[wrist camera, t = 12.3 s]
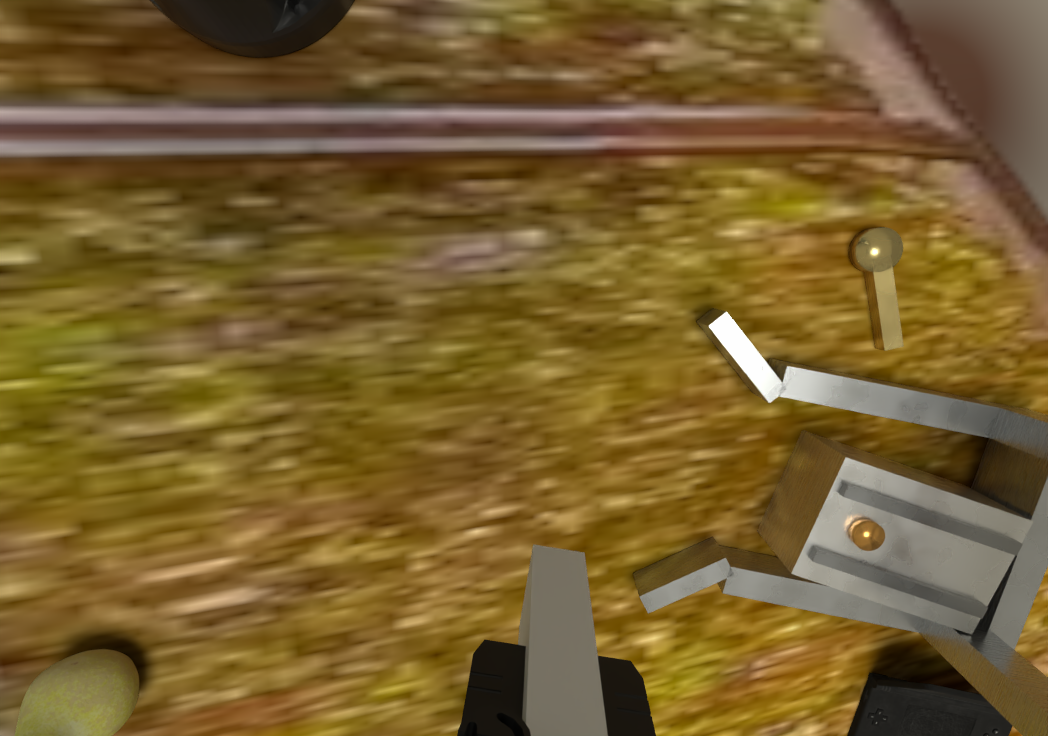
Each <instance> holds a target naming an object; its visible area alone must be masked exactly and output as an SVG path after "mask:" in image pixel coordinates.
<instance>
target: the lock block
mask: <svg viewBox="0 0 1048 736" xmlns="http://www.w3.org/2000/svg"><path fill="white" fill-rule="evenodd" d="M1033 522H1034V521H1032V520H1030V519H1028V518H1026V517H1024V516H1022V515H1021V514H1019V513H1017V512H1015V511H1013V510H1011V509H1009V508H1007V507H1005V506H1003V505H1001V504H999V503H998V502H996V501H994V500H992V499H990V498H988V497H986V496H984V495H982V494H980V493H978V492H977V491H975V490H973V489H971V488H969V487H967V486H965V485H963V484H960V483H957V482H954V481H951V480H948V479H945V478H942V477H939V476H936V475H934V474H931V473H928V472H925V471H922V470H919V469H916V468H913V467H910V466H907V465H904V464H901V463H898V462H895V461H893V460H890V459H887V458H884V457H881V456H878V455H875V454H872V453H869V452H866V451H863V450H860V449H857V448H855V447H852V446H849V445H846V444H843V443H840V442H837V441H834V440H831V439H828V438H825V437H822V436H819V435H816V434H814V433H811V432H808V431H805V430H802V432H801V434H800V437H799V439H798V441H797V443H796V446H795V448H794V450H793V452H792V454H791V457H790V459H789V461H788V463H787V466H786V468H785V470H784V472H783V474H782V477H781V479H780V481H779V483H778V486H777V488H776V490H775V492H774V494H773V497H772V499H771V501H770V503H769V506H768V508H767V510H766V512H765V514H764V517H763V519H762V521H761V523H760V526H759V528H758V530H757V531H758V533H759V534H760V535H761V536H762V538H763V539H764V540H765V541H766V543H767V544H768V545H769V546H770V548H771V549H772V550H773V551H774V553H775V554H776V555H777V556H778V558H779V559H780V560H781V561H782V563H783V564H784V565H785V567H786V568H787V569H788V570H789V572H790V573H791V574H793V575H796V576H799V577H802V578H805V579H808V580H811V581H814V582H817V583H820V584H823V585H826V586H829V587H832V588H835V589H838V590H841V591H844V592H847V593H850V594H853V595H856V596H859V597H862V598H865V599H868V600H871V601H874V602H877V603H880V604H883V605H885V606H888V607H891V608H894V609H897V610H900V611H903V612H906V613H909V614H912V615H915V616H918V617H921V618H924V619H927V620H930V621H933V622H936V623H939V624H942V625H945V626H948V627H951V628H954V629H957V630H960V631H963V632H966V633H969V634H973V632H974V630H975V628H976V626H977V624H978V623H979V621H980V619H982V618H983V616H984V615H985V613H986V611H987V609H988V607H987V606H988V604H989V602H990V601H991V599H992V597H993V595H994V593H995V591H996V590H997V588H998V586H999V584H1000V582H1001V580H1002V579H1003V577H1004V575H1005V573H1006V571H1007V570H1008V568H1009V566H1010V564H1011V562H1012V560H1013V559H1014V557H1015V555H1016V556H1017V554H1018V552H1019V551H1020V549H1021V547H1022V545H1023V544H1022V542H1023V540H1024V538H1025V537H1026V535H1027V533H1028V531H1029V529H1030V527H1031V526H1032V524H1033Z"/></svg>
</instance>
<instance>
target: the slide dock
mask: <svg viewBox="0 0 1048 736" xmlns="http://www.w3.org/2000/svg"><path fill="white" fill-rule="evenodd" d="M696 322H697V323H698V325H699V326H700V327H701V328H702V330H703V331H704V332H705V333H706V335H707V336H708V337H709V338H710V340H711V341H712V342H713V344H714V345H715V346H716V347H717V349H718V350H719V351H720V352H721V354H722V355H723V356H724V357H725V359H726V360H727V361H728V362H729V364H730V365H731V366H732V367H733V369H734V370H735V371H736V372H737V374H738V375H739V376H740V378H741V379H742V380H743V381H744V383H745V384H746V385H747V386H748V388H749V389H750V390H751V391H752V393H754V394H755V395H757V396H759V397H760V398H762V399H763V400H765V401H767V402H768V403H770V402H772V401H773V400H774V399H776V398H777V397H778V396H780V397H785V398H790V399H795V400H800V401H805V402H810V403H816V404H821V405H826V406H831V407H836V408H841V409H846V410H851V411H856V412H861V413H866V414H871V415H876V416H881V417H886V418H891V419H896V420H901V421H906V422H911V423H916V424H921V425H926V426H931V427H936V428H942V429H947V430H952V431H957V432H962V433H967V434H972V435H977V436H982V437H987V438H989V440H988V442H987V445H986V448H985V451H984V453H983V456H982V459H981V462H980V465H979V467H978V470H977V473H976V476H975V478H974V481H973V484H972V487H971V489H973V490H975V491H977V492H978V493H980V494H982V495H984V496H986V497H988V498H990V499H992V500H994V501H996V502H998V503H999V504H1001V505H1003V506H1005V507H1007V508H1009V509H1011V510H1013V511H1015V512H1017V513H1019V514H1021V515H1022V516H1024V517H1026V518H1028V519H1030V520H1032V521H1034V522H1033V524H1032V526H1031V527H1030V529H1029V531H1028V533H1027V535H1026V537H1025V538H1024V540H1023V542H1022V544H1023V545H1022V547H1021V549H1020V551H1019V552H1018V554H1017V556H1016V555H1015V557H1014V559H1013V560H1012V562H1011V564H1010V566H1009V568H1008V570H1007V571H1006V573H1005V575H1004V577H1003V579H1002V580H1001V582H1000V584H999V586H998V588H997V590H996V591H995V593H994V595H993V597H992V599H991V601H990V602H989V604H988V606H987V607H988V609H987V611H986V613H985V615H984V616H983V618H982V619H980V621H979V623H978V624H977V626H976V628H975V630H974V632H973V634H969V633H966V632H963V631H960V630H957V629H954V628H951V627H948V626H945V625H942V624H939V623H936V622H933V621H930V620H927V619H924V618H921V617H918V616H915V615H912V614H909V613H906V612H903V611H900V610H897V609H894V608H891V607H888V606H885V605H883V604H880V603H877V602H874V601H871V600H868V599H865V598H862V597H859V596H856V595H853V594H850V593H847V592H844V591H841V590H838V589H835V588H832V587H829V586H826V585H823V584H820V583H817V582H814V581H811V580H808V579H805V578H802V577H799V576H796V575H793V574H791V573H790V572H789V570H788V569H787V568H786V567H785V565H784V564H783V563H782V561H781V560H780V559H779V558H778V557H774V556H769V555H764V554H759V553H754V552H749V551H744V550H740V549H735V548H730V547H725V546H720V545H718V544H717V543H716V541H715V539H714V538H713V537H711V538H709V539H707V540H705V541H703V542H700V543H698V544H696V545H694V546H692V547H689V548H687V549H685V550H683V551H681V552H678V553H676V554H674V555H672V556H670V557H667V558H665V559H663V560H661V561H659V562H656V563H654V564H652V565H650V566H648V567H645V568H643V569H641V570H639V571H637V572H634V573H633V576H634V579H635V583H636V587H637V590H638V594H639V597H640V599H641V601H642V603H643V604H644V606H645V608H646V610H647V612H648V613H650V612H652V611H654V610H657V609H659V608H661V607H663V606H666V605H668V604H670V603H672V602H675V601H677V600H679V599H681V598H684V597H686V596H688V595H690V594H693V593H695V592H697V591H699V590H702V589H704V588H706V587H708V586H711V585H713V584H715V583H718V585H719V587H720V589H721V591H722V593H724V594H729V595H734V596H739V597H744V598H749V599H754V600H759V601H764V602H769V603H774V604H779V605H784V606H789V607H794V608H799V609H804V610H809V611H814V612H819V613H824V614H829V615H834V616H839V617H844V618H849V619H854V620H859V621H864V622H869V623H874V624H879V625H884V626H888V627H893V628H898V629H903V630H908V631H913V632H918V633H920V634H921V635H922V636H923V637H924V638H925V639H926V640H927V641H928V642H929V643H930V644H931V645H932V646H933V647H934V648H935V649H936V650H937V651H938V652H939V653H940V654H941V655H942V656H943V657H944V658H945V659H946V660H947V661H948V662H949V663H950V664H951V665H952V666H953V667H954V668H955V669H956V670H957V671H958V672H959V673H960V674H961V675H962V676H963V677H964V678H965V679H966V680H967V681H968V682H969V683H970V684H971V685H972V686H973V687H974V688H975V689H976V690H977V691H978V692H979V693H980V694H981V695H982V696H983V697H984V698H985V699H986V700H987V701H988V702H989V703H990V704H991V705H992V706H993V707H994V708H995V709H996V710H997V711H998V712H999V713H1000V714H1001V715H1002V716H1003V717H1004V718H1005V719H1006V720H1007V721H1008V722H1009V723H1010V724H1011V725H1013V726H1014V727H1015V728H1016V729H1017V730H1018V731H1019V732H1020V733H1021V734H1022V735H1023V736H1048V677H1047V676H1045V675H1044V674H1043V673H1042V672H1040V671H1039V670H1038V669H1037V668H1036V667H1034V666H1033V665H1032V664H1031V663H1030V662H1028V661H1027V660H1026V659H1025V658H1023V657H1022V656H1021V655H1020V654H1019V653H1017V652H1016V651H1015V650H1014V649H1015V647H1016V644H1017V642H1018V639H1019V637H1020V634H1021V632H1022V629H1023V627H1024V624H1025V622H1026V619H1027V617H1028V614H1029V612H1030V609H1031V607H1032V604H1033V602H1034V599H1035V597H1036V594H1037V591H1038V589H1039V586H1040V584H1041V581H1042V579H1043V576H1044V574H1045V571H1046V569H1047V566H1048V415H1046V414H1043V413H1039V412H1036V411H1033V410H1029V409H1024V408H1019V407H1013V406H1008V405H1003V404H998V403H993V402H988V401H983V400H978V399H973V398H968V397H963V396H958V395H953V394H948V393H943V392H938V391H933V390H928V389H923V388H917V387H912V386H907V385H902V384H897V383H892V382H887V381H882V380H877V379H872V378H867V377H862V376H857V375H852V374H847V373H842V372H837V371H832V370H827V369H821V368H816V367H811V366H806V365H801V364H796V363H791V362H786V361H781V360H776V359H771V358H769V360H768V364H767V362H766V361H765V360H764V359H763V357H762V356H761V355H760V354H759V352H758V351H757V350H756V348H755V347H754V346H753V345H752V343H751V342H750V341H749V340H748V338H747V337H746V336H745V334H744V333H743V332H742V331H741V329H740V328H739V327H738V325H737V324H736V323H735V322H734V320H733V319H732V318H731V317H730V315H729V314H728V313H727V312H726V311H722V310H718V309H714V308H712V309H711V310H710V311H709V312H707V313H706V314H705V315H704V316H702V317H701V318H700V319H698V320H697V321H696Z"/></svg>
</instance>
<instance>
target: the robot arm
mask: <svg viewBox="0 0 1048 736" xmlns="http://www.w3.org/2000/svg"><path fill="white" fill-rule="evenodd" d="M150 1H151V2H152V3H153V4H154V5H155V6H156V7H157V8H158V9H159V10H160V11H161V12H162V13H163V14H164V15H165V16H167V17H168V18H169V19H170V20H172V21H173V22H174V23H176V24H177V25H179V26H180V27H182V28H183V29H185V30H186V31H188V32H189V33H191V34H192V35H194V36H195V37H197V38H198V39H200V40H202V41H203V42H205V43H207V44H209V45H211V46H213V47H215V48H217V49H220V50H222V51H225V52H229V53H232V54H236V55H241V56H247V57H273V56H279V55H284V54H288V53H291V52H294V51H297V50H300V49H302V48H304V47H306V46H308V45H310V44H312V43H313V42H315V41H317V40H318V39H320V38H321V37H322V36H324V35H325V34H326V33H327V32H329V31H330V30H331V29H332V28H333V27H334V26H335V25H336V24H337V23H338V22H339V21H340V20H341V18H342V17H343V16H344V15H345V13H346V12H347V11H348V9H349V8H350V6H351V5H352V3H353V1H354V0H150ZM650 714H651V712H650V708H649V703H648V701H647V694H646V690H645V685H644V681H643V678H642V676H641V675H640V674H639V672H638V671H637V669H636V668H635V666H634V665H633V664H632V662H631V661H628V660H621V659H615V658H608V657H602V656H598V655H597V647H596V640H595V632H594V624H593V616H592V608H591V601H590V593H589V585H588V577H587V569H586V561H585V554H584V553H583V552H577V551H571V550H564V549H558V548H551V547H545V546H538V545H533V549H532V555H531V561H530V567H529V573H528V579H527V585H526V591H525V596H524V602H523V608H522V614H521V620H520V626H519V640H518V645H516V644H509V643H503V642H497V641H490V640H484V641H483V642H482V644H481V645H480V646H479V647H478V649H477V650H476V651H475V652H474V654H473V659H472V665H471V671H470V676H469V682H468V688H467V693H466V699H465V705H464V710H463V716H462V722H461V725H460V727H459V730H458V735H457V736H656V734H655V730H654V725H653V721H652V717H651V716H650Z"/></svg>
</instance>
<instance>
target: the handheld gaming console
mask: <svg viewBox="0 0 1048 736" xmlns="http://www.w3.org/2000/svg"><path fill="white" fill-rule="evenodd" d="M868 676H869V677H868V680H867V683H866V686H865V688H864V691H863V694H862V697H861V700H860V702H859V705H858V708H857V711H856V713H855V716H854V719H853V722H852V725H851V727H850V730H849V733H848V736H1008V735H1009V733H1010V731H1011V728H1012V726H1013V725H1011V724H1010V723H1009V722H1008V721H1007V720H1006V719H1005V718H1004V717H1003V716H1002V715H1001V714H1000V713H999V712H998V711H997V710H996V709H995V708H994V707H993V706H992V705H991V704H990V703H989V702H988V701H987V700H986V699H985V698H984V697H983V696H982V695H980V694H975V693H971V692H966V691H961V690H957V689H952V688H947V687H942V686H938V685H933V684H926V683H915V682H907V681H905V680H900V679H895V678H891V677H888V676H884V675H880V674H875V673H869V675H868Z"/></svg>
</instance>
